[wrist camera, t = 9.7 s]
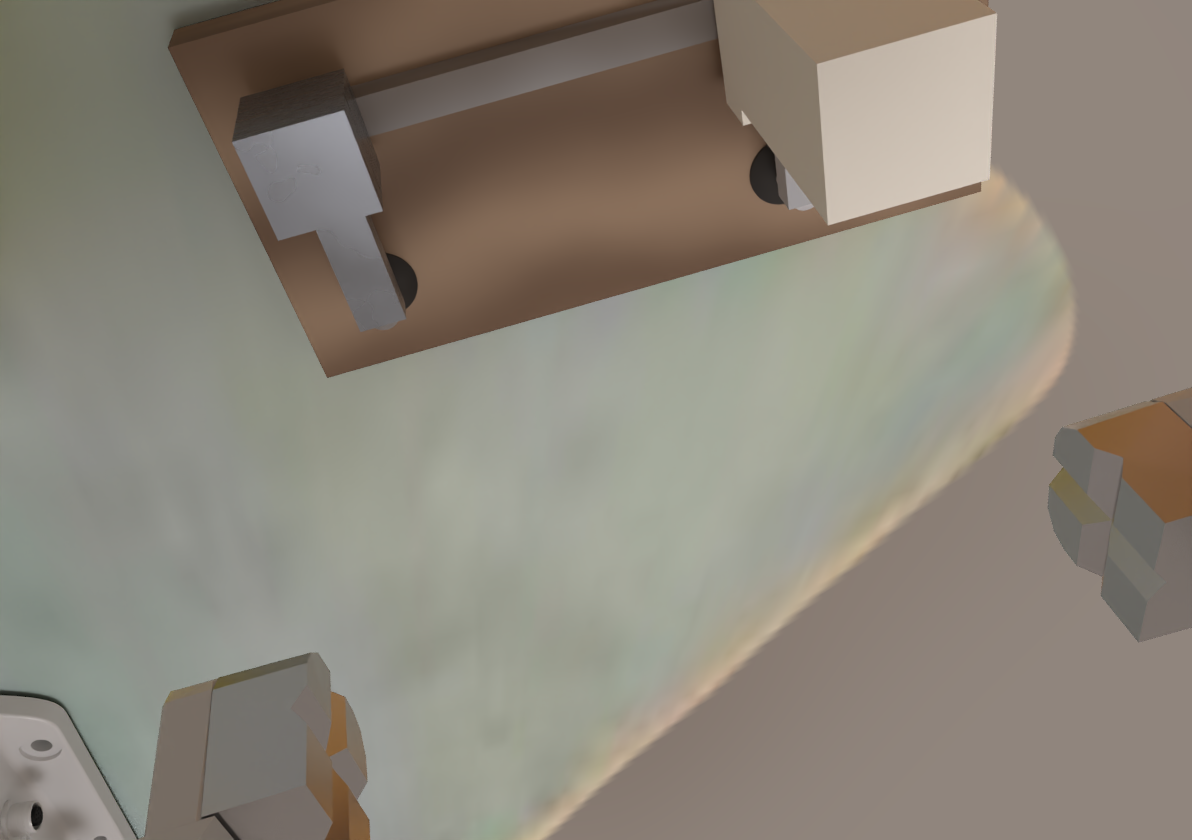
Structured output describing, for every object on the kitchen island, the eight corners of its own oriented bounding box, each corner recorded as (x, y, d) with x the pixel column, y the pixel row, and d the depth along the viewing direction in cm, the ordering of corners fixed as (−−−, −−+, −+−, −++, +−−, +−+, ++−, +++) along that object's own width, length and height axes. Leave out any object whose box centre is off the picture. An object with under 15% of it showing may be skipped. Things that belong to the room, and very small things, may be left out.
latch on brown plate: (961, 172, 38) (994, 204, 36) (327, 353, 38) (327, 394, 36) (971, -194, 30) (1013, -178, 29) (174, 29, 30) (163, 60, 28)
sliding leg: (849, 172, 35) (982, 329, 28) (734, 205, 35) (838, 371, 28) (834, -115, 29) (998, -11, 22) (696, -76, 29) (815, 41, 22)
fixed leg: (430, 292, 35) (437, 351, 32) (343, 316, 35) (343, 378, 32) (343, 61, 30) (344, 110, 27) (241, 90, 30) (232, 142, 27)
